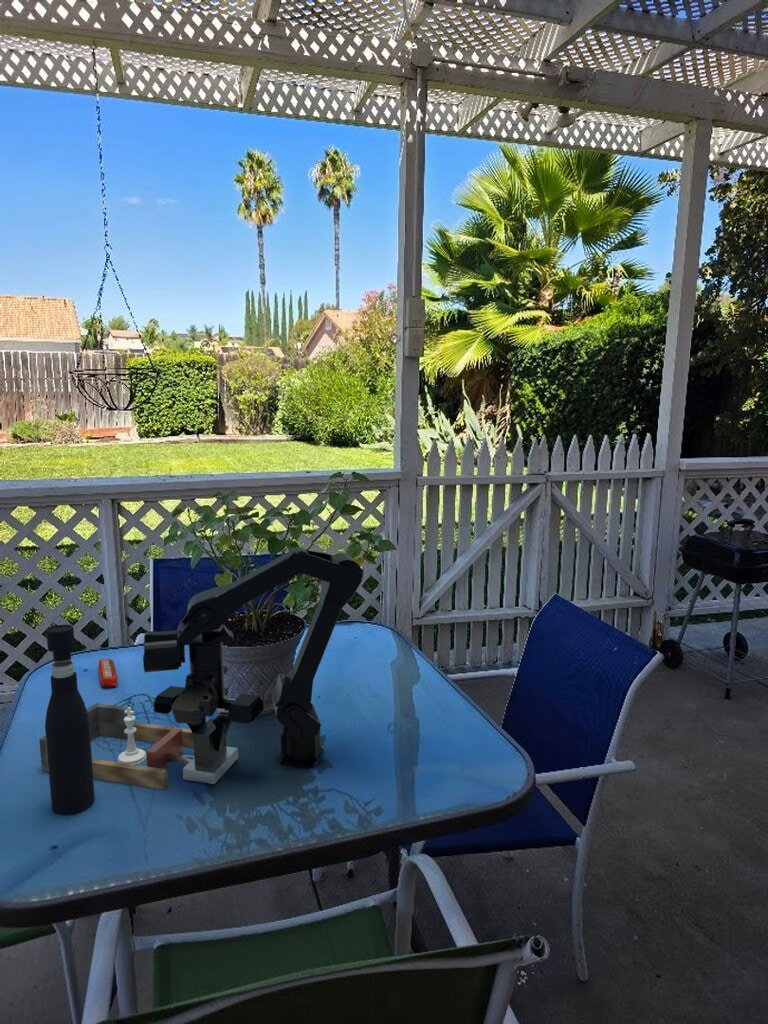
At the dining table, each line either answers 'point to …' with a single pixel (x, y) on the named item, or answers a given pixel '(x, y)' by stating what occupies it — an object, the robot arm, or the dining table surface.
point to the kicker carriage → (206, 757)
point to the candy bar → (107, 672)
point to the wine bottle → (67, 731)
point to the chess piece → (131, 743)
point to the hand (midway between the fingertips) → (210, 749)
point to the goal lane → (112, 724)
